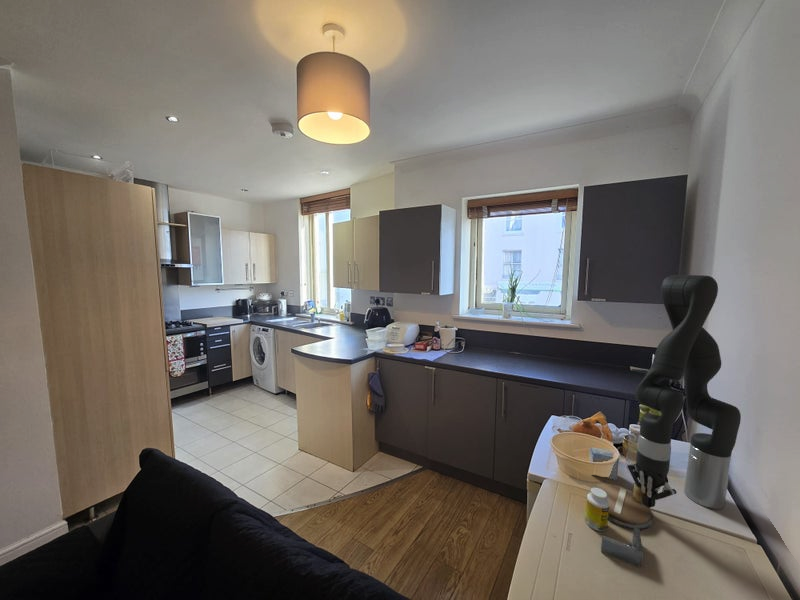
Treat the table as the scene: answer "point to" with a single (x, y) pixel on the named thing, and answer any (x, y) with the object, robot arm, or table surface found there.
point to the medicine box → (604, 459)
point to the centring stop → (624, 549)
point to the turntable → (626, 504)
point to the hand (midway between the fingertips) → (647, 505)
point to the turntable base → (631, 526)
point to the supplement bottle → (597, 509)
